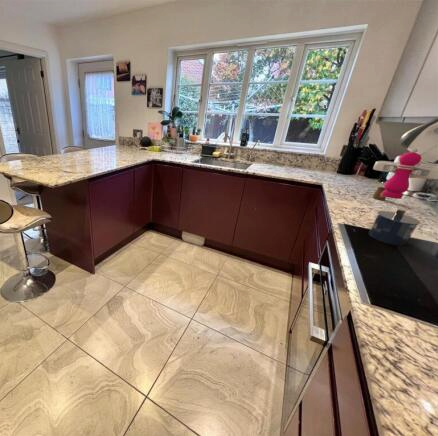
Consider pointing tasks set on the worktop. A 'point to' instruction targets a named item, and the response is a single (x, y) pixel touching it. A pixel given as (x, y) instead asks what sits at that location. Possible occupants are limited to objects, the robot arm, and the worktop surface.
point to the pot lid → (398, 217)
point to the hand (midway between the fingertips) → (403, 171)
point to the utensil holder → (379, 193)
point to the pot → (391, 231)
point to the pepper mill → (401, 175)
